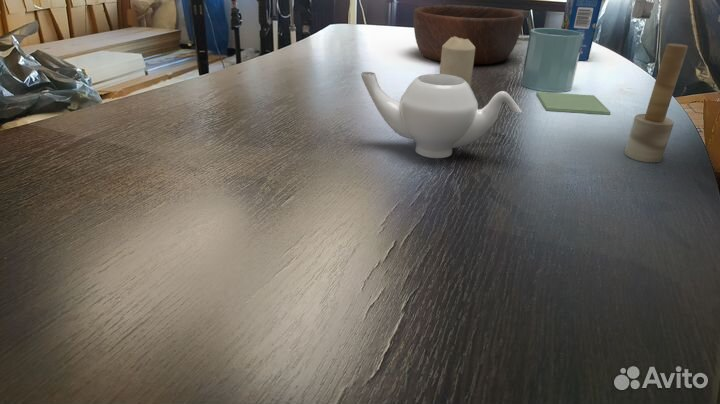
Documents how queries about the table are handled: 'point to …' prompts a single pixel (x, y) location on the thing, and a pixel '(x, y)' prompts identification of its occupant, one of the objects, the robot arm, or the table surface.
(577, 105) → the mat
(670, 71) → the brush
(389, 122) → the teapot
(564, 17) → the blue food package
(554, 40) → the cup
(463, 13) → the wooden bowl
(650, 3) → the robot arm
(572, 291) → the table surface
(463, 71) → the candle
